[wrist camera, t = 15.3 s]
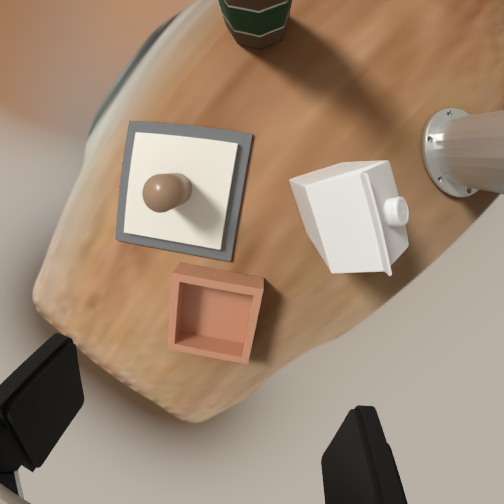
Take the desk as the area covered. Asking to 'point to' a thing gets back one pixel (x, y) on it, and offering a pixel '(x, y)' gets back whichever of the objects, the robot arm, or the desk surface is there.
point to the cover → (179, 188)
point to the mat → (234, 196)
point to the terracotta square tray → (213, 312)
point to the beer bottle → (256, 20)
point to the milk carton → (353, 215)
